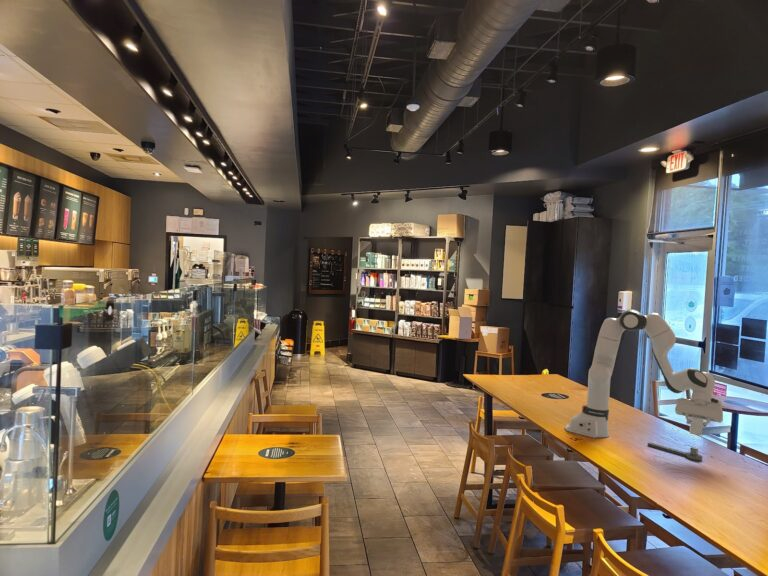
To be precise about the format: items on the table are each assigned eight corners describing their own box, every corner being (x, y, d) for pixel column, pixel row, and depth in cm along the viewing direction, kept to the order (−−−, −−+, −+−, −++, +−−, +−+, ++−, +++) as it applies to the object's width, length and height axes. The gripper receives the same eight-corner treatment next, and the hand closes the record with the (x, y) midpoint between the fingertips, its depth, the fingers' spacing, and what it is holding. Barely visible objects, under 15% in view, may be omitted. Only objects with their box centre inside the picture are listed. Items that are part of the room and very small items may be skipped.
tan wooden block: (690, 433, 253) (691, 417, 253) (689, 431, 258) (690, 414, 258) (702, 435, 251) (703, 419, 251) (701, 433, 255) (702, 416, 255)
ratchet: (704, 459, 255) (705, 448, 255) (699, 462, 250) (700, 451, 250) (651, 444, 273) (652, 434, 273) (645, 446, 268) (646, 436, 268)
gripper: (677, 393, 266) (671, 416, 258) (724, 401, 253) (720, 425, 246) (677, 400, 269) (672, 423, 262) (725, 409, 257) (721, 433, 249)
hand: (696, 424), depth 254 cm, fingers closed on tan wooden block, 5 cm apart
